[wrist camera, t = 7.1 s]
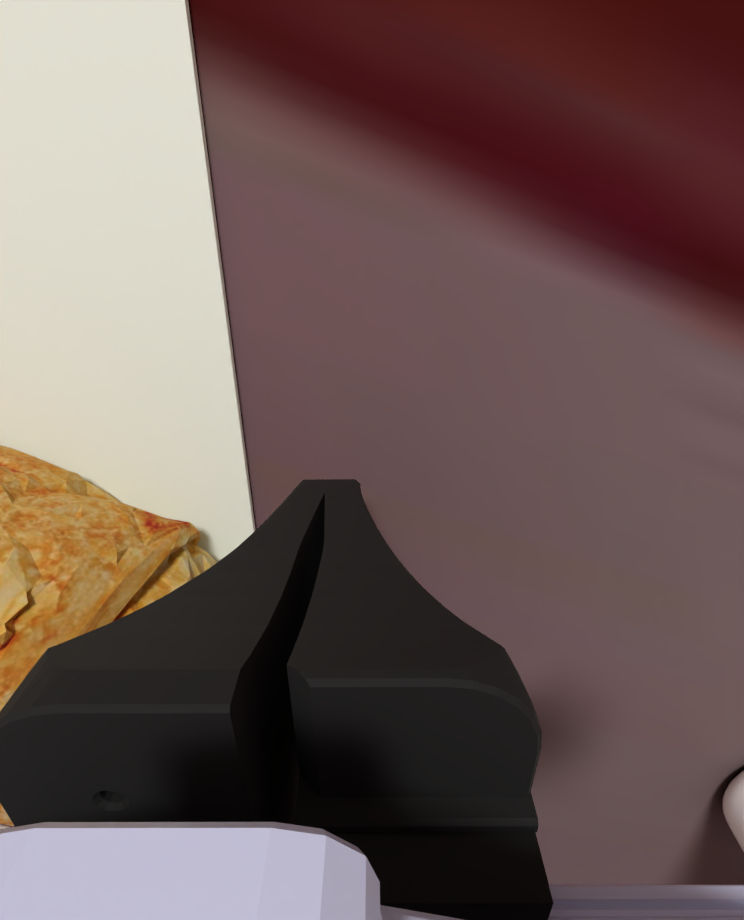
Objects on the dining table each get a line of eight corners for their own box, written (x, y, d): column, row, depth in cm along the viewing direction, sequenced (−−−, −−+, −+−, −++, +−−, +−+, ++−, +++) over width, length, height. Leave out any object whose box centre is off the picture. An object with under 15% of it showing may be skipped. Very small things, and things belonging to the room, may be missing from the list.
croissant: (393, 612, 20) (507, 737, 12) (249, 844, 19) (274, 1141, 11) (-221, 251, 13) (-810, 30, 6) (-491, 576, 12) (-1657, 845, 5)
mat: (-71, 695, 17) (-75, 701, 17) (-572, -137, 8) (-593, -144, 8) (276, 696, 17) (275, 702, 17) (170, -135, 8) (166, -143, 8)
